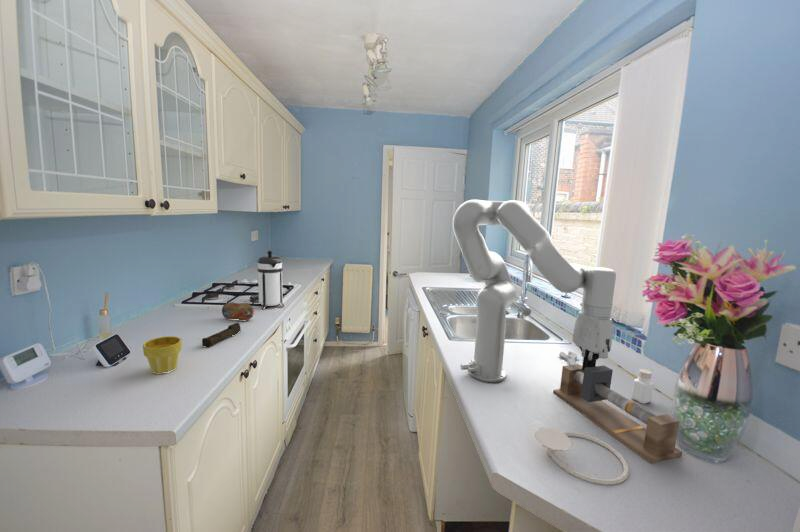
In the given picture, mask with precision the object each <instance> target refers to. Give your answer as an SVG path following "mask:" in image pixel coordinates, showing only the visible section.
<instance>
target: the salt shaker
mask: <svg viewBox="0 0 800 532" xmlns="http://www.w3.org/2000/svg"><path fill="white" fill-rule="evenodd" d="M637 375H638V376H637V378H635V379H634V380H633V384H632V390H631V395H630V396H631V399H633V400H635V401H637V402H638V403H641V404H643V405H644V404H647V403H648V404H649V403H650V402H651V401H652V397H653V396H652V395H653V391H654V383H653V382H652V381H651V379H652V371H650V370H648V369H645V368H639V369H638V374H637Z"/></svg>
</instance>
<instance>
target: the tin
mask: <svg viewBox="0 0 800 532" xmlns="http://www.w3.org/2000/svg"><path fill="white" fill-rule="evenodd" d="M221 313H222V316H223V317H224V318H225V319H226V320H227V319H239V320H246V321H245V322H248V321H249V320H251V319H252V318H253V317H254V314H255V311H254V307H253V305H251V304H250V303H246V302H226V303H225V304H224V305H223V306H222V307H221Z"/></svg>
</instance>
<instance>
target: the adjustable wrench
mask: <svg viewBox="0 0 800 532" xmlns="http://www.w3.org/2000/svg"><path fill="white" fill-rule="evenodd" d="M559 359H561V360H563V361H566V362H567V365H575V364H577V363H576V360H577V359H578V354H577V353H575V352H573V351H568V353H567V354H566V353H565V352H563V351H560V352H559Z"/></svg>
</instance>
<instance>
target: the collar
mask: <svg viewBox="0 0 800 532" xmlns="http://www.w3.org/2000/svg"><path fill="white" fill-rule="evenodd" d="M612 378H613V369H612V368H610V367H608V366H607V365H604V364H603V365H596V366H595V367H586V368H585V369H584V376H583V384H582V391H581V397H582V398H583V399H585V400H586V401H588V402H595V401H601V400H602V401H607V400H606V399H605V398H603V397H602V396H600V395H598V394H597V393H595V385H596V384H597V383H601V384H602V385H604V386H606V387H608V388H609V389H611V386H612V385H611V384H612Z"/></svg>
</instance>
